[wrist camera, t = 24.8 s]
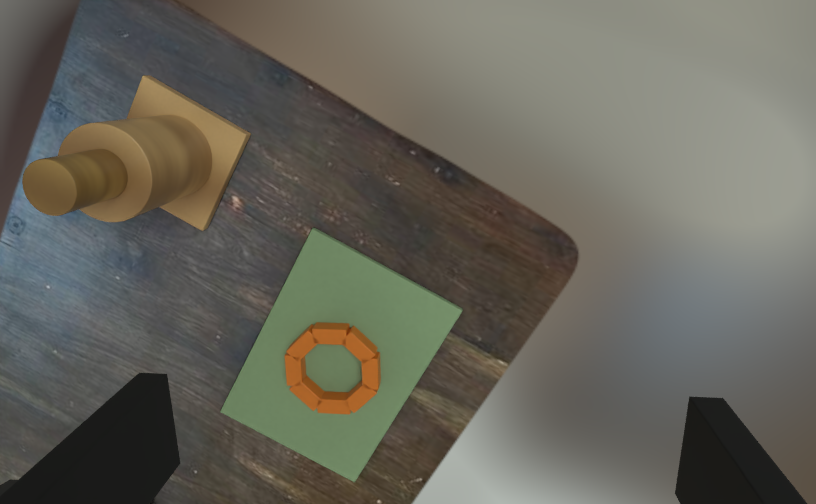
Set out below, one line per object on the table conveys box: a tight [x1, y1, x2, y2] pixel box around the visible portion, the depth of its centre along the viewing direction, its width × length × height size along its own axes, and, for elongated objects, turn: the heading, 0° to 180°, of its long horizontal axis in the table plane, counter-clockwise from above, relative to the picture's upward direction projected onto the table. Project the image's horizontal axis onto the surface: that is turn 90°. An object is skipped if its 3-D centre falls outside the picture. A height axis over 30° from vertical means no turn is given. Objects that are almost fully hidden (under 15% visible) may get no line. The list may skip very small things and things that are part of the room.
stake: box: [22, 75, 251, 231], centre depth 39 cm, size 9×9×15 cm
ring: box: [285, 322, 381, 414], centre depth 49 cm, size 8×8×1 cm
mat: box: [220, 227, 463, 482], centre depth 50 cm, size 20×14×1 cm
